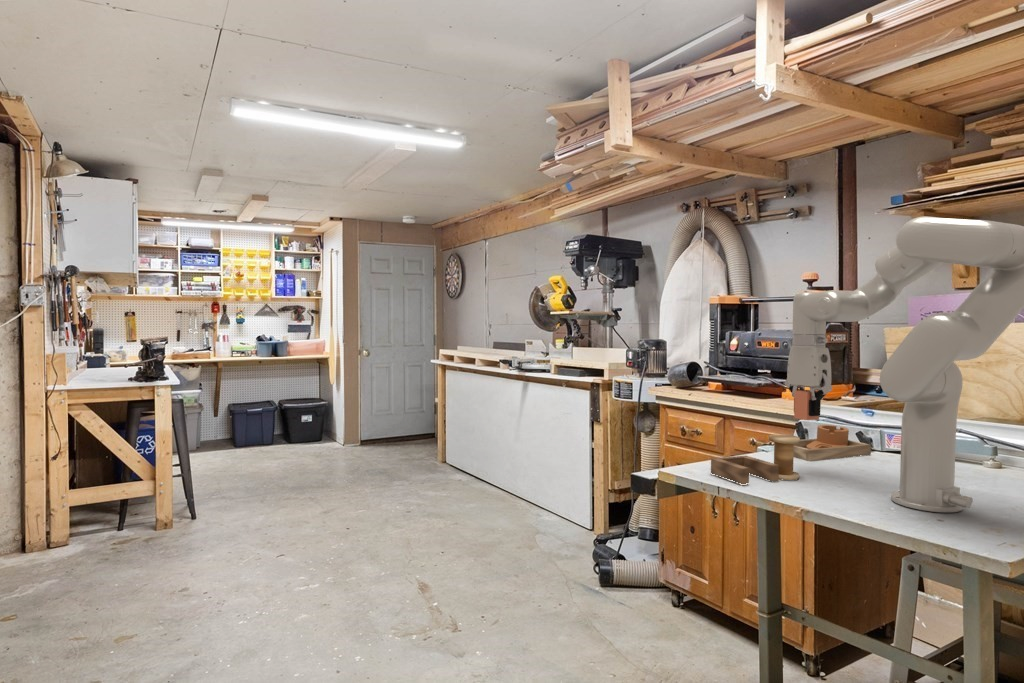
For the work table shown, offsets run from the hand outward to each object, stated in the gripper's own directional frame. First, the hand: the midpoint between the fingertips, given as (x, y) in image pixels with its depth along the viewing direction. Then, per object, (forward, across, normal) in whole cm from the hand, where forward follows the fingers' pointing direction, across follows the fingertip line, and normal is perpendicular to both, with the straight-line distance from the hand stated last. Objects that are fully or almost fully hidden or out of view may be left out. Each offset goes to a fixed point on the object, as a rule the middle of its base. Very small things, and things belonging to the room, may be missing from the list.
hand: (806, 413), depth 154 cm
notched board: (+15, +2, +18) cm, 23 cm away
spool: (+15, 0, +8) cm, 17 cm away
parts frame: (+15, +17, -24) cm, 33 cm away
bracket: (+16, +17, -26) cm, 35 cm away
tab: (+1, 0, 0) cm, 1 cm away
